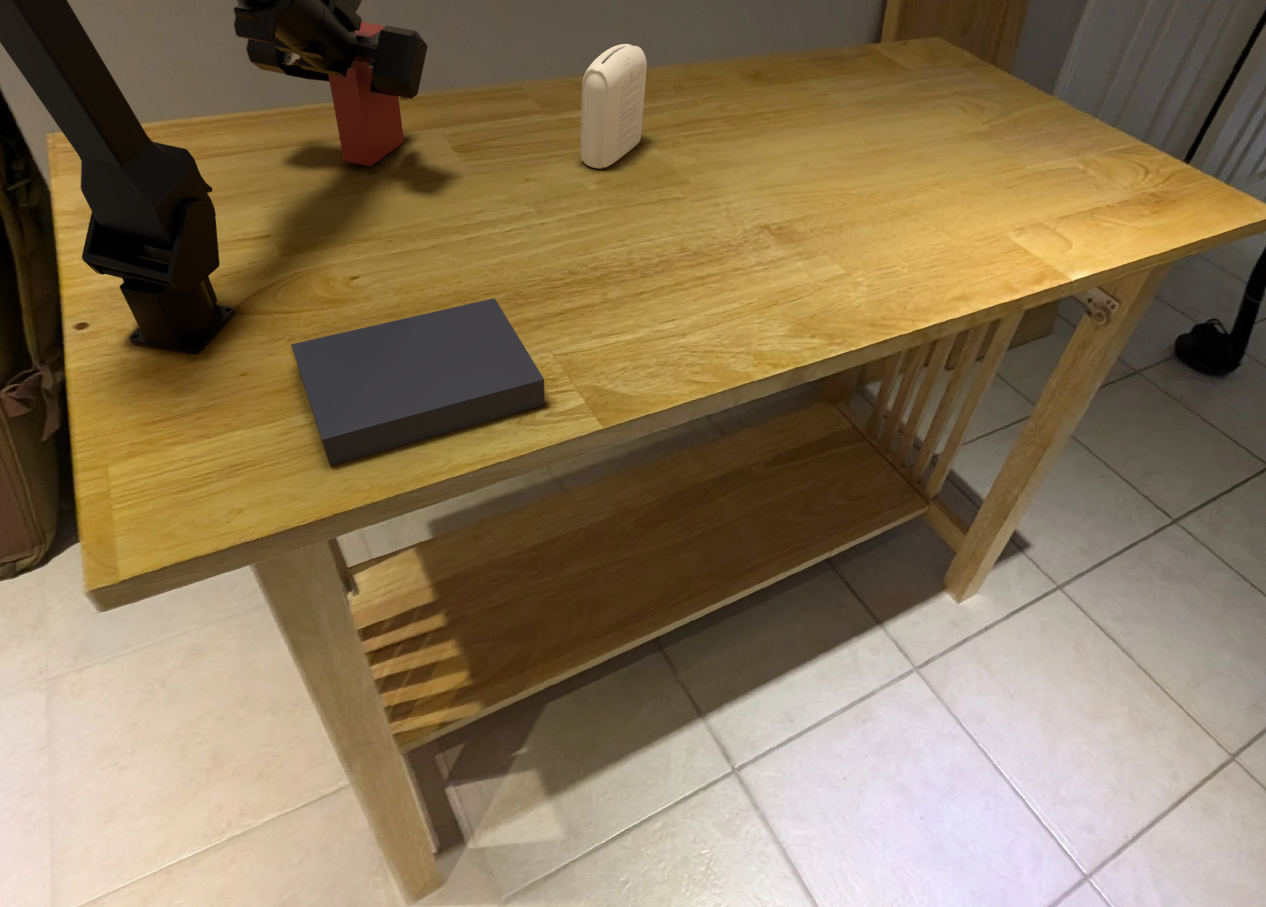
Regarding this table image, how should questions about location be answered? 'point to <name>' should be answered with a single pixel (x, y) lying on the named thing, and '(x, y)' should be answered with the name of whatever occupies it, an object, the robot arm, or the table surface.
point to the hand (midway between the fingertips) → (374, 84)
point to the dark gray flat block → (416, 378)
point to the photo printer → (612, 105)
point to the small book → (365, 112)
